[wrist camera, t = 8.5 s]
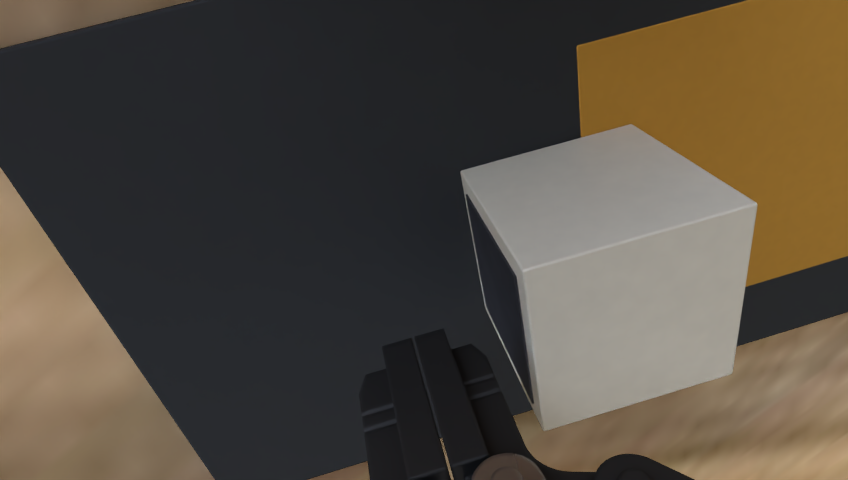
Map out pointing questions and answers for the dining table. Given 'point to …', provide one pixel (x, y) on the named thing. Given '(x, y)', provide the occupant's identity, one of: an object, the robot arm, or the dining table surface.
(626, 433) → the dining table surface
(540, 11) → the mat
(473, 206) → the matte off-white cube
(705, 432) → the dining table surface
